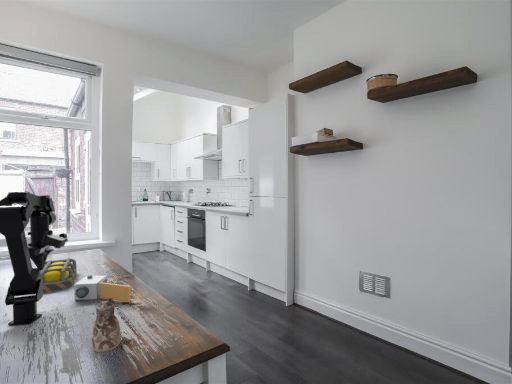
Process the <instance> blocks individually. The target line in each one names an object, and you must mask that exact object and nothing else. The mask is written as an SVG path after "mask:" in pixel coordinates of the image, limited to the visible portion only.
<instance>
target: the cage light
mask: <svg viewBox="0 0 512 384" xmlns="http://www.w3.org/2000/svg"><path fill="white" fill-rule="evenodd" d="M76 274H77V261H76V260H75V259H74V258H70V257H68V258H65V259H57V260H55V259H54V260H52V259H49V260H46V262H45V266H44V269H43V270H40V275H41V279H43V293H47V292H48V293H49V292H54V291H55V292H56V291H59V290H65V289H66V288H70V287H71V286H72V284H73V285H74V284H75V281H74V280H76V278H75V277H77V275H76Z"/></svg>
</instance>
